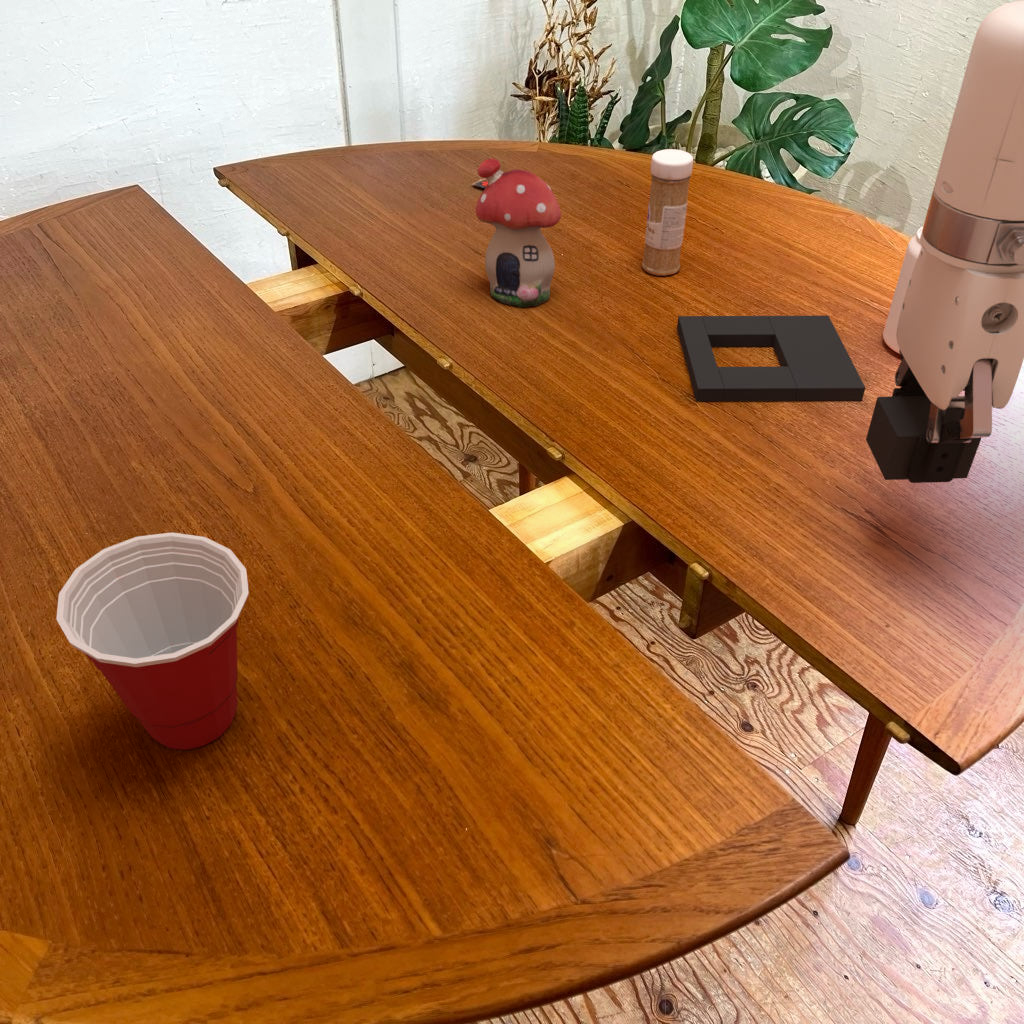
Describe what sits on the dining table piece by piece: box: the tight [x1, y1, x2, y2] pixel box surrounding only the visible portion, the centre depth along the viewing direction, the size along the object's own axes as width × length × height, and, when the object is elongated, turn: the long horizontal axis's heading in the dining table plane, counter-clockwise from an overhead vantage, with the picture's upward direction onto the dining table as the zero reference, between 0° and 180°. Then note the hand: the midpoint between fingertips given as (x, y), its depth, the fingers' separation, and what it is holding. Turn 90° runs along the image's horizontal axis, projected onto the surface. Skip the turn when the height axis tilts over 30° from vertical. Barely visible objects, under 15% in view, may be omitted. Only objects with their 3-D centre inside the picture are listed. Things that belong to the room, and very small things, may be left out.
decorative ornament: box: [475, 157, 562, 308], centre depth 104 cm, size 9×7×15 cm
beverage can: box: [882, 225, 924, 355], centre depth 96 cm, size 8×8×12 cm
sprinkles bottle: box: [641, 148, 694, 277], centre depth 109 cm, size 5×5×13 cm
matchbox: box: [470, 178, 488, 189], centre depth 132 cm, size 5×5×1 cm
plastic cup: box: [56, 532, 250, 751], centre depth 60 cm, size 11×11×12 cm
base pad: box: [676, 315, 866, 402], centre depth 97 cm, size 16×14×2 cm
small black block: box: [865, 396, 982, 481], centre depth 71 cm, size 6×5×4 cm
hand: (916, 453), depth 72 cm, fingers closed on small black block, 5 cm apart
